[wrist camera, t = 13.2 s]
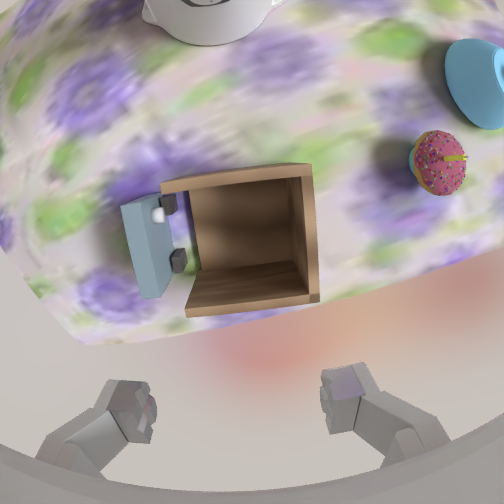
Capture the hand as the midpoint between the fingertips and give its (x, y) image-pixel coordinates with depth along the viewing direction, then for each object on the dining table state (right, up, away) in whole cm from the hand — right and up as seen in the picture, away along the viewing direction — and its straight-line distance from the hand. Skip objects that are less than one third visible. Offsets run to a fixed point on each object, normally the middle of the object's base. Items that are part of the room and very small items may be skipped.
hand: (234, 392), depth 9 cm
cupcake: (+24, +18, +25) cm, 39 cm away
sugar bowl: (+36, +31, +22) cm, 52 cm away
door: (-11, +7, +27) cm, 30 cm away
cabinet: (-4, +8, +27) cm, 29 cm away
